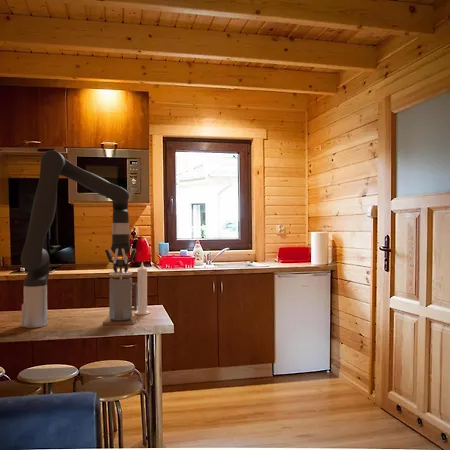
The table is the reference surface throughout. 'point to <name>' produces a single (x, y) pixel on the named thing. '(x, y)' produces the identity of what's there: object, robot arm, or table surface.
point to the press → (121, 302)
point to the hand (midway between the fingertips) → (120, 271)
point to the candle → (142, 291)
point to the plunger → (120, 264)
